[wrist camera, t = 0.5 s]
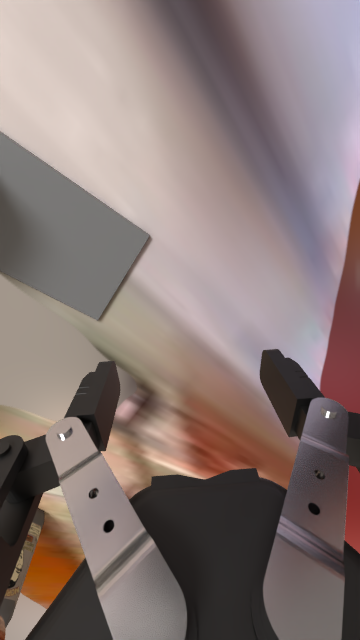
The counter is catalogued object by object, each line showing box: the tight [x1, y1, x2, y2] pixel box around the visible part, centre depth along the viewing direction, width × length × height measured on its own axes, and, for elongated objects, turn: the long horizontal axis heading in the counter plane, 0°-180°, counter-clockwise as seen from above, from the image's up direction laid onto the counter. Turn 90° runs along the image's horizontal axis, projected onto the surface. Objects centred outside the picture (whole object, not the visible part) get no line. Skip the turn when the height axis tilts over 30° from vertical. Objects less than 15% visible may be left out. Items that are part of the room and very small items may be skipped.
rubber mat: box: [0, 132, 150, 320], centre depth 27 cm, size 28×14×1 cm, turn 55°
